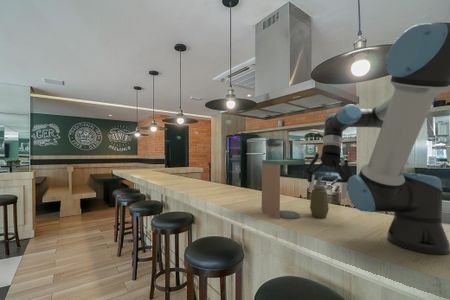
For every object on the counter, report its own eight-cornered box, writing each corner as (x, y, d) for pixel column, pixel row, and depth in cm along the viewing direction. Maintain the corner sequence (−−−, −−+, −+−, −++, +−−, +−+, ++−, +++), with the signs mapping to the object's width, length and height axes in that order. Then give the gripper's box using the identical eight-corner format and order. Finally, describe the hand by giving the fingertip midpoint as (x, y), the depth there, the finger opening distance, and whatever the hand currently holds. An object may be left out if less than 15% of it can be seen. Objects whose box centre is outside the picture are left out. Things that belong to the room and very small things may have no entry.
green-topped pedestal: (304, 215, 102) (304, 159, 103) (276, 219, 96) (277, 159, 96) (287, 208, 113) (287, 158, 114) (261, 212, 107) (262, 158, 107)
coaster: (306, 217, 99) (306, 216, 99) (285, 220, 94) (285, 219, 94) (288, 210, 110) (288, 209, 110) (268, 213, 105) (268, 212, 105)
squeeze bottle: (330, 219, 96) (331, 178, 96) (311, 218, 98) (311, 178, 98) (326, 214, 104) (326, 176, 104) (308, 213, 106) (308, 176, 106)
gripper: (355, 155, 99) (352, 202, 93) (300, 143, 101) (294, 188, 94) (365, 150, 92) (363, 200, 86) (306, 137, 94) (300, 185, 87)
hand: (327, 194), depth 90 cm, fingers open, 13 cm apart
